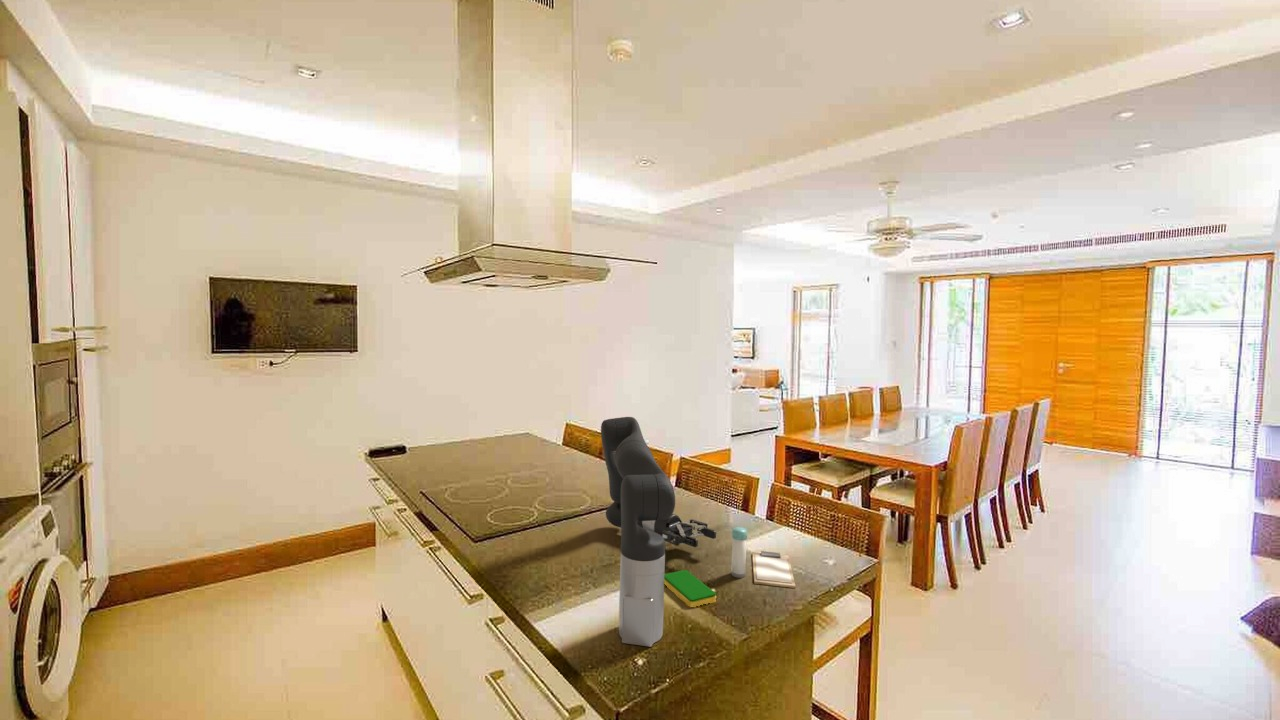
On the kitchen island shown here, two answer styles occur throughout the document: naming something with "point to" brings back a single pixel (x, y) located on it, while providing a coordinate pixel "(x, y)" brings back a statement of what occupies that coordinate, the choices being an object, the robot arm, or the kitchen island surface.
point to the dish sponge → (689, 588)
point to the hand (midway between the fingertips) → (706, 539)
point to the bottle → (738, 552)
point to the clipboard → (772, 569)
